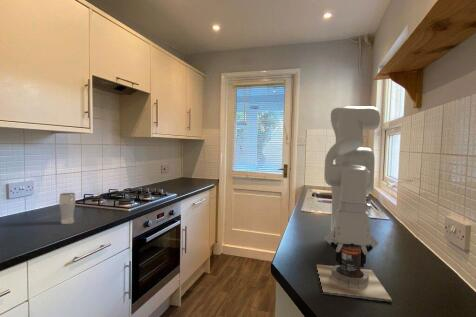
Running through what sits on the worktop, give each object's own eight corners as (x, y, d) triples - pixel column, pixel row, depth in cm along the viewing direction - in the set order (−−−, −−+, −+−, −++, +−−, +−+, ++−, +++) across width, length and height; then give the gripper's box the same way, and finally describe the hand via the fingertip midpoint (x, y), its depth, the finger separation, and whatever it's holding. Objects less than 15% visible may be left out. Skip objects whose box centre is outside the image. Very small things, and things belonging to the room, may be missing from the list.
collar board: (316, 267, 94) (316, 257, 94) (371, 272, 91) (371, 262, 91) (322, 294, 76) (323, 282, 76) (391, 302, 73) (392, 290, 73)
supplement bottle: (354, 269, 87) (356, 235, 86) (363, 278, 81) (365, 241, 80) (336, 269, 86) (337, 234, 86) (344, 278, 81) (345, 241, 80)
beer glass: (73, 223, 137) (73, 194, 136) (57, 225, 134) (57, 195, 134) (76, 220, 143) (76, 192, 143) (61, 221, 141) (61, 192, 140)
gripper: (378, 206, 85) (375, 262, 86) (321, 203, 88) (319, 256, 89) (387, 212, 77) (384, 273, 78) (325, 208, 81) (322, 266, 81)
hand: (350, 264), depth 84 cm, fingers closed on supplement bottle, 5 cm apart
